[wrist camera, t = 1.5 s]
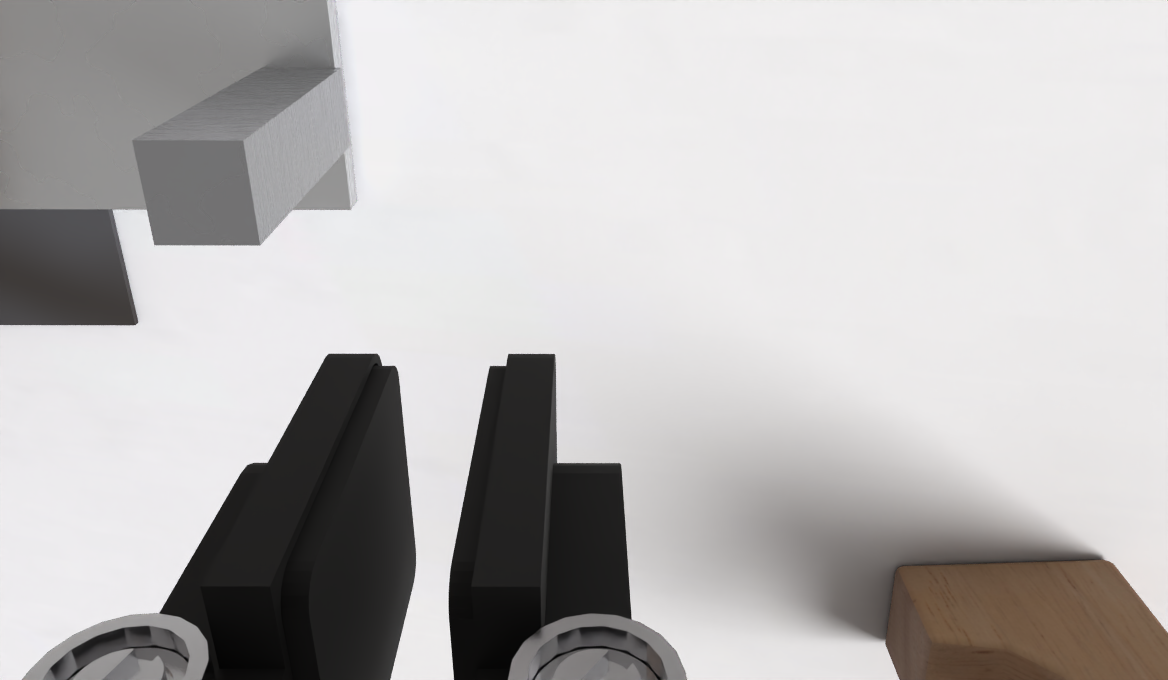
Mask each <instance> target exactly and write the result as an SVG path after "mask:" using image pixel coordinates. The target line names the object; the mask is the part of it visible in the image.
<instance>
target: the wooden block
mask: <svg viewBox="0 0 1168 680" xmlns="http://www.w3.org/2000/svg"><path fill="white" fill-rule="evenodd" d="M885 644H886V647H887V649H888V652H889V654H890V657H891V659H892V662H893V664H894V667H895V669H896V672H897V674H898V677H899V679H900V680H1168V633H1167V631H1166V630H1165V629H1164V628H1163V626H1162V625H1161V624H1160V623H1159V621H1158V620H1157V619H1156V617H1155V616H1154V615H1153V614H1152V612H1151V611H1150V610H1149V609H1148V607H1147V606H1146V605H1145V603H1144V602H1143V601H1142V600H1141V598H1140V597H1139V596H1138V595H1137V593H1136V592H1135V591H1134V589H1133V588H1132V587H1131V586H1130V584H1129V583H1128V582H1127V581H1126V579H1125V578H1124V577H1123V576H1122V574H1121V573H1120V572H1119V570H1118V569H1117V568H1116V567H1115V565H1114V564H1112V563H1111V562H1109V561H1105V560H1081V561H1049V562H1017V563H984V564H952V565H919V566H902V567H899V568H898V569H897V570H896V572H895V579H894V586H893V593H892V600H891V607H890V614H889V621H888V629H887V636H886V643H885Z"/></svg>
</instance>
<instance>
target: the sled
mask: <svg viewBox="0 0 1168 680" xmlns="http://www.w3.org/2000/svg"><path fill="white" fill-rule="evenodd" d="M357 201H358V200H357V191H356V182H355V173H354V163H353V154H352V145H351V136H350V127H349V118H348V109H347V100H346V91H345V82H344V72H343V63H342V54H341V45H340V36H339V27H338V18H337V9H336V0H0V209H147V212H148V217H149V222H150V226H151V231H152V235H153V240H154V245H261V244H262V243H263V242H264V241H265V239H266V238H267V237H268V236H269V235H270V234H271V233H272V232H273V231H274V229H275V228H276V227H277V226H278V225H279V224H280V223H281V222H282V221H283V219H284V218H285V217H286V216H287V215H288V214H289V213H290V212H291V211H292V210H351V209H352V207H353V206H354V205H355V203H356V202H357Z"/></svg>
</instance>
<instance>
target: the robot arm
mask: <svg viewBox="0 0 1168 680" xmlns="http://www.w3.org/2000/svg"><path fill="white" fill-rule="evenodd" d="M415 569H416V548H415V538H414V527H413V517H412V507H411V497H410V487H409V476H408V466H407V456H406V446H405V436H404V426H403V415H402V405H401V395H400V385H399V376H398V371H397V368H396V367H395V366H382V363H381V360H380V357H379V356H378V354H328V355H327V356H326V358H325V359H324V361H323V363H322V365H321V367H320V369H319V370H318V372H317V374H316V376H315V378H314V380H313V381H312V383H311V385H310V387H309V389H308V391H307V392H306V394H305V396H304V398H303V400H302V401H301V403H300V405H299V407H298V409H297V411H296V412H295V414H294V416H293V418H292V420H291V422H290V423H289V425H288V427H287V429H286V431H285V433H284V434H283V436H282V438H281V440H280V442H279V444H278V445H277V447H276V449H275V451H274V453H273V454H272V456H271V458H270V460H269V462H268V463H252V464H249V465H247V466H246V468H245V469H244V470H243V471H242V473H241V474H240V476H239V478H238V479H237V481H236V483H235V484H234V486H233V488H232V490H231V491H230V493H229V495H228V496H227V498H226V500H225V502H224V503H223V505H222V507H221V508H220V510H219V512H218V514H217V515H216V517H215V519H214V520H213V522H212V524H211V526H210V527H209V529H208V531H207V532H206V534H205V536H204V538H203V539H202V541H201V543H200V544H199V546H198V548H197V550H196V551H195V553H194V555H193V556H192V558H191V560H190V562H189V563H188V565H187V567H186V568H185V570H184V572H183V574H182V575H181V577H180V579H179V580H178V582H177V584H176V586H175V587H174V589H173V591H172V592H171V594H170V596H169V598H168V599H167V601H166V603H165V604H164V606H163V608H162V610H161V611H160V613H152V614H135V615H128V616H124V617H120V618H116V619H112V620H108V621H104V622H101V623H99V624H96V625H94V626H92V627H90V628H87V629H85V630H83V631H81V632H78V633H76V634H74V635H72V636H71V637H69V638H68V639H66V640H65V641H63V642H62V643H60V644H59V645H57V646H56V647H54V648H53V649H51V650H50V651H48V652H47V653H46V654H45V655H44V656H43V657H42V658H41V659H40V660H39V661H38V662H37V663H36V664H35V665H34V666H33V667H32V668H31V669H30V670H29V671H28V673H27V674H26V675H25V676H24V678H23V679H22V680H390V678H391V674H392V670H393V666H394V661H395V657H396V653H397V649H398V645H399V641H400V637H401V633H402V629H403V624H404V620H405V616H406V612H407V608H408V604H409V600H410V596H411V592H412V587H413V583H414V578H415ZM449 622H450V635H451V647H452V659H453V671H454V680H687V677H686V673H685V670H684V668H683V665H682V663H681V661H680V658H679V656H678V654H677V652H676V650H675V649H674V648H673V647H672V646H671V645H670V644H669V643H668V642H667V641H666V640H665V639H664V637H663V636H662V635H661V634H659V633H657V632H655V631H654V630H652V629H650V628H649V627H647V626H645V625H644V624H642V623H640V622H637V621H634V620H632V619H631V604H630V589H629V574H628V559H627V544H626V529H625V514H624V500H623V485H622V471H621V464H620V463H557V432H556V362H555V354H508V359H507V365H506V366H490V368H489V373H488V378H487V383H486V388H485V394H484V399H483V404H482V409H481V414H480V419H479V424H478V430H477V435H476V440H475V445H474V450H473V455H472V461H471V466H470V471H469V476H468V481H467V486H466V491H465V497H464V502H463V507H462V512H461V517H460V522H459V528H458V533H457V538H456V543H455V548H454V553H453V559H452V564H451V571H450V582H449Z"/></svg>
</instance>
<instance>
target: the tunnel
mask: <svg viewBox="0 0 1168 680" xmlns="http://www.w3.org/2000/svg"><path fill="white" fill-rule="evenodd" d="M137 323H138V319H137V315H136V311H135V306H134V302H133V298H132V293H131V289H130V285H129V280H128V276H127V272H126V268H125V263H124V259H123V255H122V250H121V246H120V242H119V237H118V233H117V229H116V225H115V220H114V216H113V212H112V209H0V325H136V324H137Z"/></svg>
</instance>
